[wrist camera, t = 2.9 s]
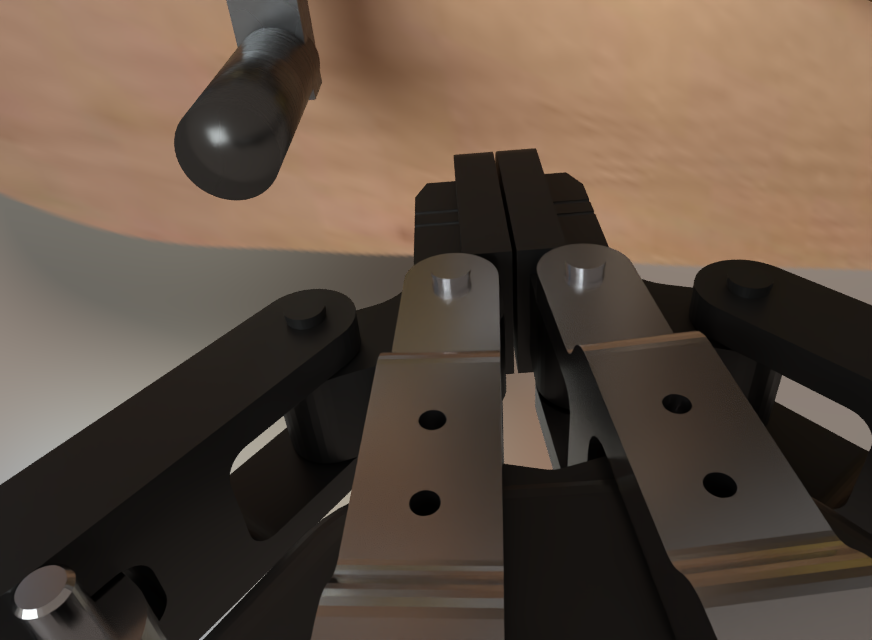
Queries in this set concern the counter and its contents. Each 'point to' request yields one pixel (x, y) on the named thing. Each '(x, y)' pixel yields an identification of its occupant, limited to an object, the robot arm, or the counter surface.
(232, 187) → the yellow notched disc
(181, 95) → the counter surface
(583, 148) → the counter surface
